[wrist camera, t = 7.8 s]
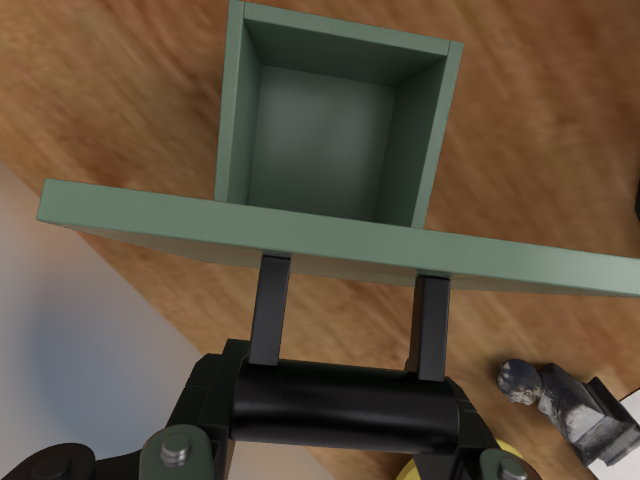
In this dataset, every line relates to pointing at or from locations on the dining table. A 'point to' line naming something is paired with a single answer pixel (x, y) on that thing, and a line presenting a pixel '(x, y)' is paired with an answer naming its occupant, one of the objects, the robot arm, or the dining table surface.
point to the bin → (331, 115)
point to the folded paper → (634, 469)
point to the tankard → (638, 203)
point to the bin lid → (344, 263)
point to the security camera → (574, 409)
